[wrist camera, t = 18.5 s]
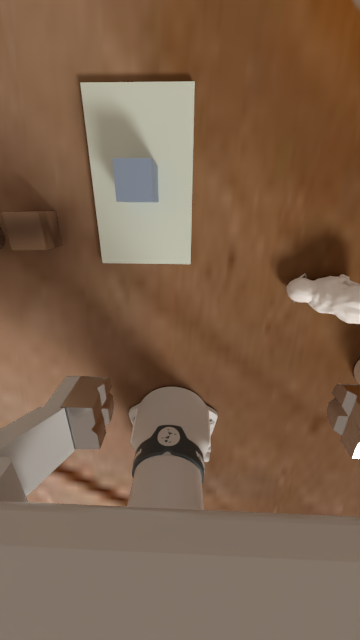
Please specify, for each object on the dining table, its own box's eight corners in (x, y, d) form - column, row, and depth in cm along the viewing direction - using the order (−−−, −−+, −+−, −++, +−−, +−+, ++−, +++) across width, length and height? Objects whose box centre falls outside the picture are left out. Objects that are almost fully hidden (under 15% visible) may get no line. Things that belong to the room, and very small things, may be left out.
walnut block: (62, 245, 40) (46, 250, 35) (32, 245, 40) (12, 250, 36) (56, 210, 38) (37, 211, 33) (23, 211, 38) (1, 211, 33)
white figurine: (376, 335, 35) (290, 319, 35) (347, 312, 42) (276, 299, 43) (400, 292, 32) (305, 276, 33) (364, 276, 40) (288, 263, 41)
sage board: (190, 262, 40) (190, 264, 39) (104, 261, 41) (102, 262, 40) (194, 85, 31) (194, 81, 30) (83, 86, 31) (80, 82, 31)
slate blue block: (158, 202, 36) (153, 201, 30) (127, 202, 36) (116, 201, 30) (157, 165, 34) (151, 158, 28) (124, 165, 34) (112, 158, 29)
